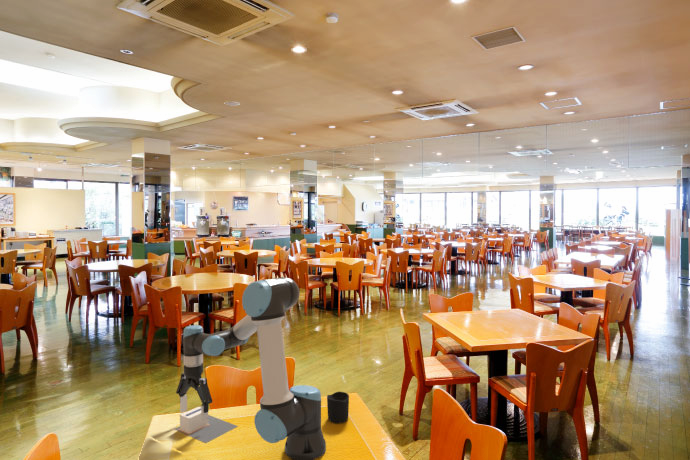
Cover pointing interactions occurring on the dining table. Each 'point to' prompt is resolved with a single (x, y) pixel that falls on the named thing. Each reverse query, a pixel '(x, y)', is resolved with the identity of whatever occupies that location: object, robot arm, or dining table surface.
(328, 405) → the pen holder
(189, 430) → the white box
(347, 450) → the dining table surface
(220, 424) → the mat
